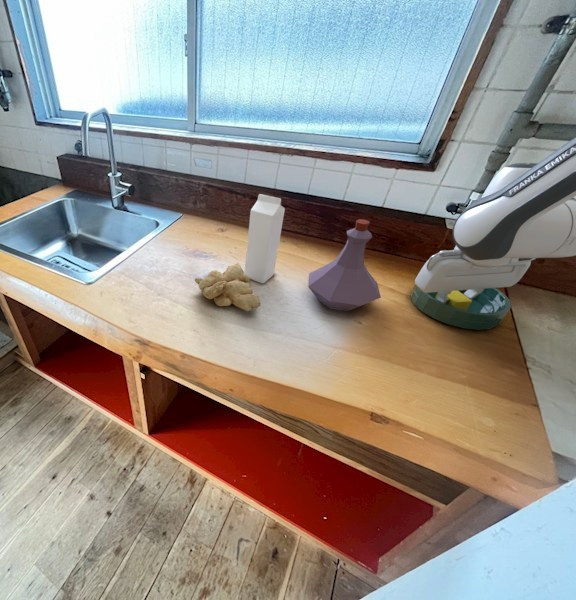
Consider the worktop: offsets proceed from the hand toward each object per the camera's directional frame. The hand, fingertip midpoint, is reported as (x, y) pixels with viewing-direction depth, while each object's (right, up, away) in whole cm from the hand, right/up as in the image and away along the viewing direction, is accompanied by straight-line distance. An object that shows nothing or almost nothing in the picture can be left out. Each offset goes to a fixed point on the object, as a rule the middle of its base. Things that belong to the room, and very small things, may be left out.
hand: (452, 303), depth 72 cm
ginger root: (-50, +1, +9) cm, 51 cm away
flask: (-23, +1, +6) cm, 24 cm away
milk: (-39, +7, +16) cm, 43 cm away
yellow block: (0, -1, +1) cm, 1 cm away
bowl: (+2, -1, +2) cm, 3 cm away
